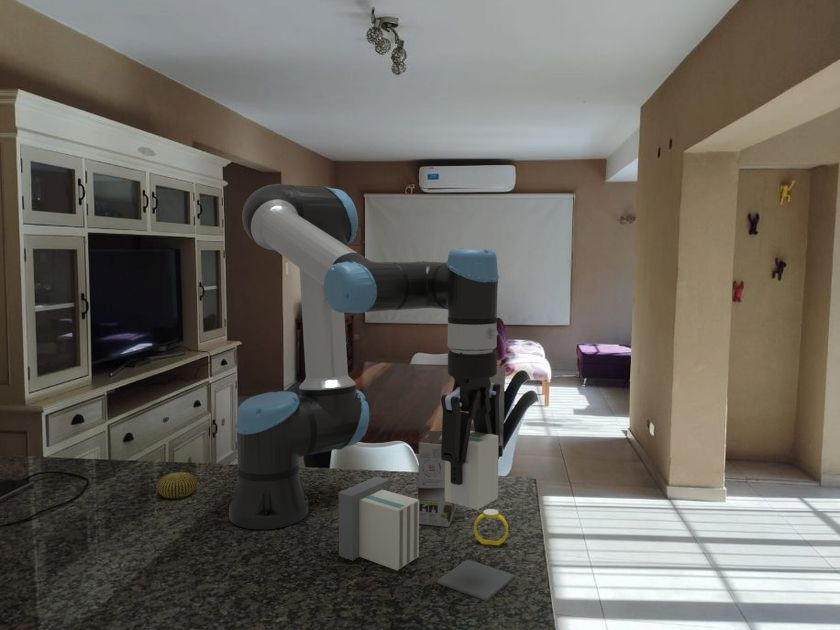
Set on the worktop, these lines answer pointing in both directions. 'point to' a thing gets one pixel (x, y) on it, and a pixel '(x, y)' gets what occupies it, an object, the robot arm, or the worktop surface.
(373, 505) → the pad
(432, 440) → the coffee box
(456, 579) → the mat
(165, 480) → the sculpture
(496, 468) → the stub
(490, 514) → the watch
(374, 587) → the worktop surface
